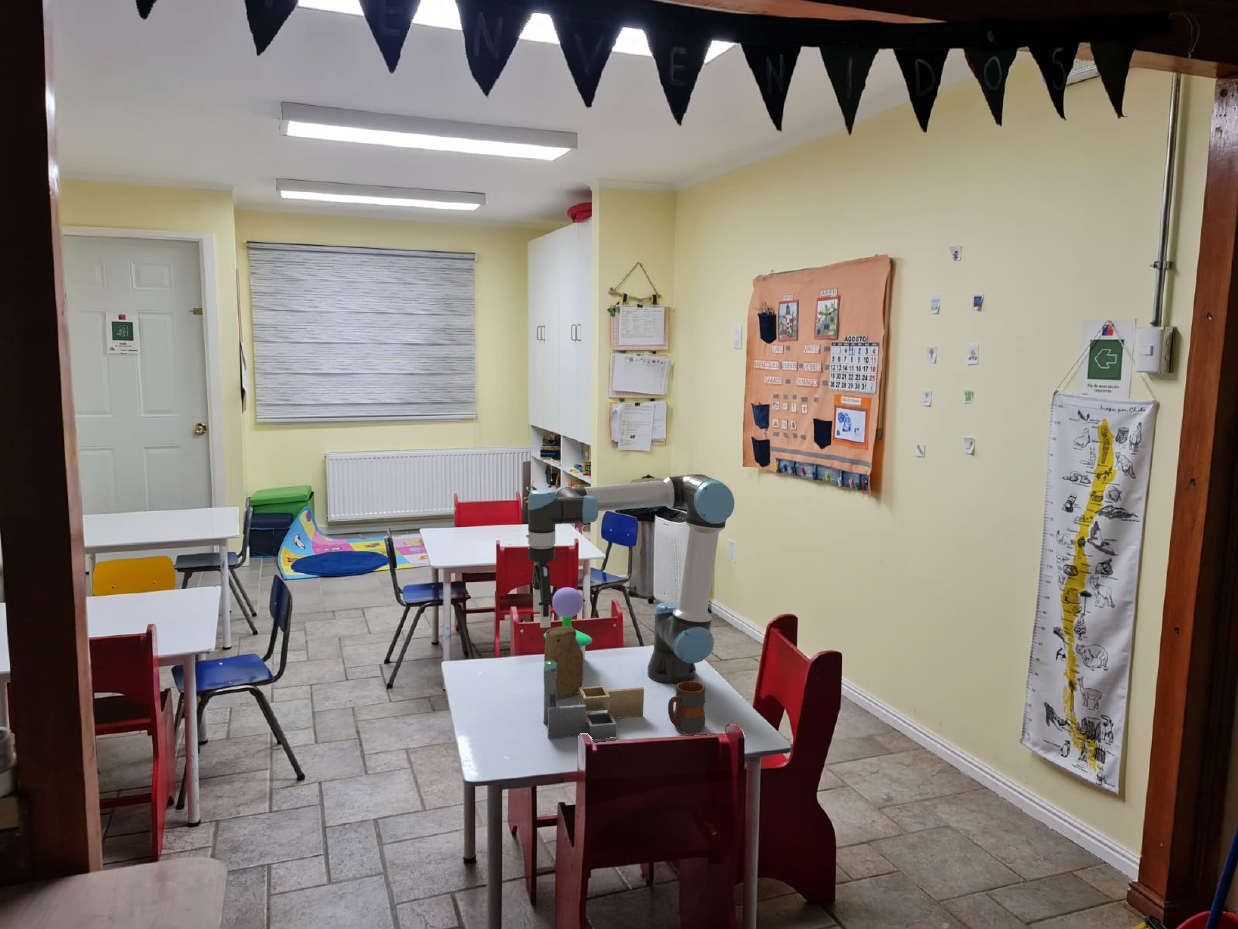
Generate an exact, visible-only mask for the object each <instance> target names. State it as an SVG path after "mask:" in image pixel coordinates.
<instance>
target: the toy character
mask: <svg viewBox="0 0 1238 929" xmlns="http://www.w3.org/2000/svg"><path fill="white" fill-rule="evenodd" d="M551 600H552V604H551V605H552V608H553V610H554V612H555V614H557V615H558V616H560V617H562V626H561V627H563V626H570V627H572V620H573V619H572V618H573V617H575V616H576V615H578V614H579V613H580V612H581V610H582V608H583V597H582V594H581V593H580V592H579V591H578V590H577V589H575V588H573V587H567V586H566V587H562V588H560V589H558V590H557V591H556V592H555V593H554V595H553V597H552V599H551ZM575 631H576V640H577V642H578V643H579V646H580V648H581V650H582V653H583V660H584V659H586V646H587V645H590V644H591V643H592V642H593V638H592V637H591V636H590V635H588V634H586V633H583V632H581V631H579V630H576V629H575ZM543 637H544V638H545V640H546V632H545V633H544V634H543Z"/></svg>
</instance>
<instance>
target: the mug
mask: <svg viewBox="0 0 1238 929" xmlns="http://www.w3.org/2000/svg"><path fill="white" fill-rule="evenodd" d="M675 687H676V689H675V696H672V697H671V698H669V700H668V704H667V711H668V712H667V713H668V717H669V720H670V722H671V724H672V725H673V726H674V728H675V729H676V731H679V732H681V733H683V732H684V733H683V734H698V733H700V732H702V731H703V730H704V729H705V727H706V712H705V704H706V688H705V686H704V685H703V684H702V683H700V682H699V681H698V682H697V681H693V680H691V681H686V682H681V683H677V685H676V686H675ZM674 705H675V707H674ZM674 708H675V709H674Z"/></svg>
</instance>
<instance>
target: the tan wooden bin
mask: <svg viewBox="0 0 1238 929" xmlns="http://www.w3.org/2000/svg"><path fill="white" fill-rule="evenodd" d="M644 697H645V689H644V687H643V686H641V687H631V688H619V689H607V688H606V687H605V685H600V686H598V685H597V686H585V687H581V688H579V692H578V703H579V705H586V713H589V712H603V711H607V712H606V713H608V712H610V713H611V714H612V716H613V718H614V719H622V718H632V717H643V716H644V703H645V701H644Z"/></svg>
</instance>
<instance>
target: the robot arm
mask: <svg viewBox="0 0 1238 929" xmlns="http://www.w3.org/2000/svg"><path fill="white" fill-rule="evenodd" d="M527 500H528V501H527V530H528V533H527V534H526V535H525V537H526V538H527V544H528V545H529V546H528V547H527V555H528V556H527V558H528V560H529V561H530V562H532V563H533V568H532V569H533V571H532V581H531V584H532V588H533V591H532V594H533V598H532V600H533V603H532V604H533V606H532V607H533V608H532V609H533V611H532V612H533V613H540V614H539V616H540V617H539V620H540V621H539V626H540V627H539V628H540V629H541V628H543V629H544V628H551V605H552V600H553V599H552V589H551V588H552V587H551V586H552V585H551V567H550V566H549V564H548V562H552V561H554V560H555V559H556V547H555V545H556V525H561V524H562V525H565V524H568V525H569V524H570V525H571V524H590V523H595V522H596V521H598V518H599V512H605V511H607V512H608V511H615V510H616V511H619V510H629V509H641V508H653V507H663V506H664V507H666V508H667V509H671V510H672V509H683V510H686V513H685V514H686V515H685V523H686V525H687V526H688V528H689V531H688V532H689V533H688V540H687V545H686V546H687V547H686V553H685V560H684V566H683V567H684V568H683V575H682V581H681V590H680V595H679V601H665V602H661V603H658V604H657V605H656V606H655V609H654V610H655V611H654V632H653V634H654V636H653V637H654V639H653V643H654V644H653V651H652V653H651V657H650V660H649V661H648V665H647V675H648V677H649V678H650V679H652V680H653V681H656V682H660V683H663V684H679V683H681V682H686V681H693V680H694V679H696V676H697V668H696V667H697V666H696V665H695V664H698V663H701V662H703V661H704V660H705V659H707V658H708V657H709V656H710V655H711V654H712V651H713V650H714V646H715V640H714V636H713V634H712V632H711V626H712V615H711V614H710V613H709V611H708V610H709V604H710V603H709V601H710V596H711V589H712V584H713V583H712V582H713V575H714V569H715V562H716V554H717V547H718V542H719V535H720V534H719V533H720V532H722V531H723V530H725V528H726V523H727V520H728V518H730V517H731V516H732V515H733V512H734V509H735V497H734V494H733V492H732V490H731V489H730V488H729V487H728V486H727V485H726V484H724V483H723V482H722V481H720V480H717V479H714V478H712V477H709V476H707V475H705V474H702V473H701V474H700V473H698V474H697V473H694V474H692V473H691V474H683V475H676V476H675V475H674V476H667V477H665V478H664V479H663V480H659V481H658V480H657V481H646V482H645V481H644V482H634V483H632V482H631V483H620V484H606V485H594V486H584V487H571V486H563V485H562V486H560V487H558V488H557V489H555V491H554V490H552V489H544V488H542V489H535V490H534V489H533V490H532V491H530V492H529V494H528V499H527Z"/></svg>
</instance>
